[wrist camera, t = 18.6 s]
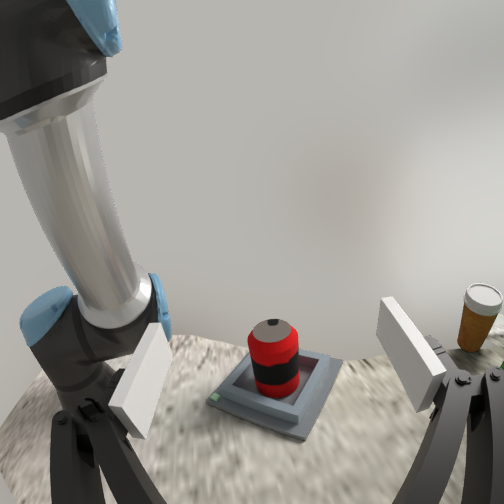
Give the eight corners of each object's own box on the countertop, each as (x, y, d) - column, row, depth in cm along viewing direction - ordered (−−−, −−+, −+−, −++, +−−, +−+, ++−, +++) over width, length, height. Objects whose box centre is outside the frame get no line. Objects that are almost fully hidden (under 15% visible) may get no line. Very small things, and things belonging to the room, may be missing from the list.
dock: (207, 403, 42) (202, 391, 40) (259, 344, 56) (257, 331, 54) (305, 440, 32) (305, 429, 31) (342, 363, 46) (343, 350, 45)
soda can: (299, 366, 46) (297, 314, 42) (299, 398, 39) (298, 345, 35) (258, 368, 48) (249, 316, 43) (253, 399, 41) (242, 347, 36)
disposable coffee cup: (489, 358, 35) (509, 308, 31) (451, 355, 40) (468, 305, 36) (484, 330, 42) (498, 283, 38) (449, 327, 47) (462, 280, 43)
